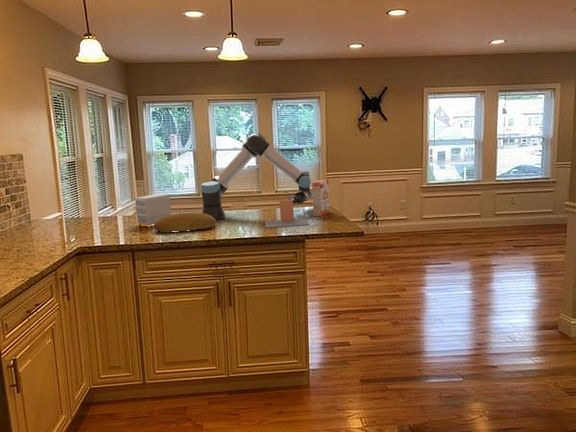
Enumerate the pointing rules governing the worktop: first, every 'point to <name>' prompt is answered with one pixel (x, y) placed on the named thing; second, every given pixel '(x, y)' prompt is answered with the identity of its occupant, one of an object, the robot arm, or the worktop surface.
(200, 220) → the bread
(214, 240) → the worktop surface
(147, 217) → the supplement box
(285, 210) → the deck
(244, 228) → the worktop surface
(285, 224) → the mat
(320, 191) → the cracker box
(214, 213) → the robot arm
